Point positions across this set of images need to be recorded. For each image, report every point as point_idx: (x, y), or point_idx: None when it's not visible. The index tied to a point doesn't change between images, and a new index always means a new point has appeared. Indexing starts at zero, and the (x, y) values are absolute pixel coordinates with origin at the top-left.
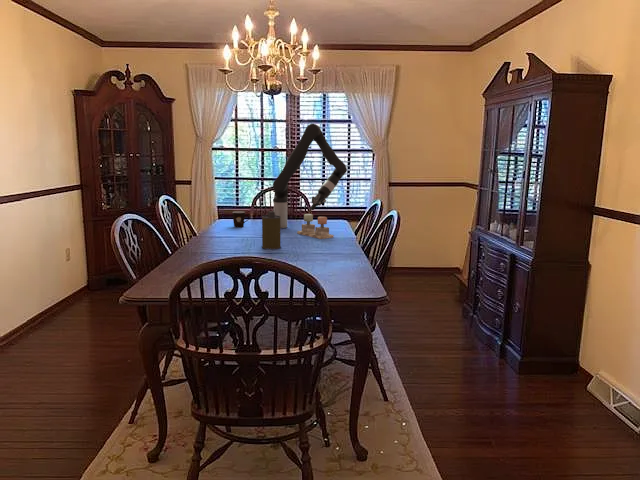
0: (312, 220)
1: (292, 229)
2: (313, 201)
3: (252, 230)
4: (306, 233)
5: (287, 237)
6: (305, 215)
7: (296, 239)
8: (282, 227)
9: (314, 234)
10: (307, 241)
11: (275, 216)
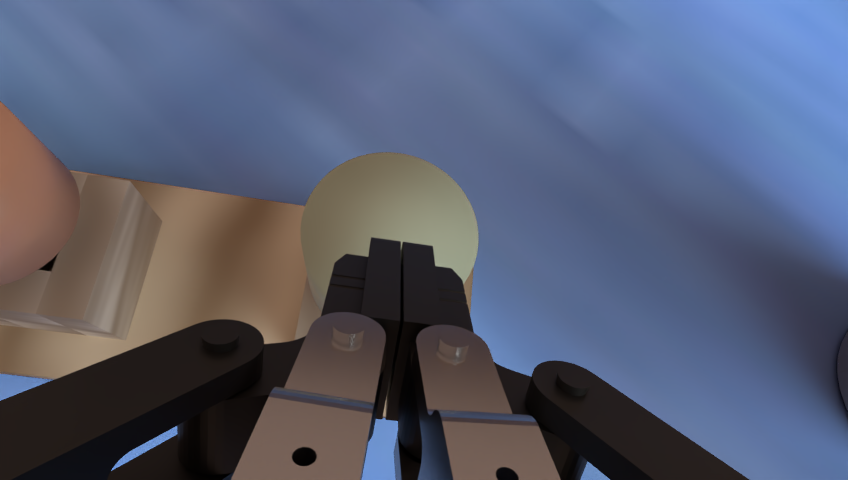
0: (311, 292)
1: (713, 389)
2: (561, 436)
3: (825, 73)
4: (296, 205)
5: (363, 33)
6: (386, 157)
7: (228, 16)
8: (841, 357)
9: (167, 212)
10: (72, 8)
11: None
